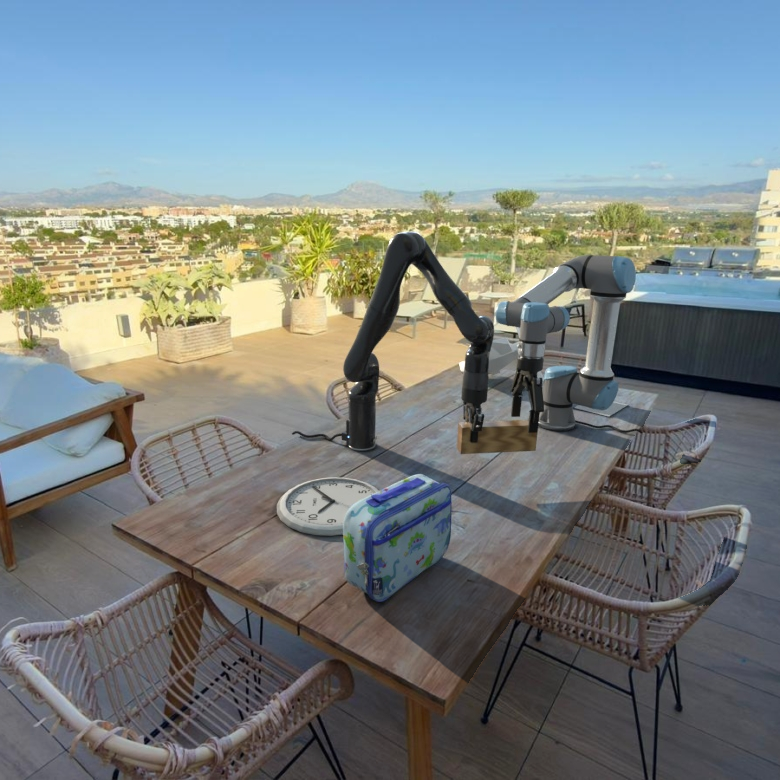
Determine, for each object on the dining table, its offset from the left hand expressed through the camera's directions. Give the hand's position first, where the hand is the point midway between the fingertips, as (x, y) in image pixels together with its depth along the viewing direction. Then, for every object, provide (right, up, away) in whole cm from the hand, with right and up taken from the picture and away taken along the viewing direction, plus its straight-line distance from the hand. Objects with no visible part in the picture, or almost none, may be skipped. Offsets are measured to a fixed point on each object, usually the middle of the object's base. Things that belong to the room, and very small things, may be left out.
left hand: (471, 438), depth 159 cm
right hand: (+16, +4, +1) cm, 17 cm away
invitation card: (+67, +7, +68) cm, 95 cm away
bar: (+8, -4, +2) cm, 9 cm away
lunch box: (-23, -26, -44) cm, 56 cm away
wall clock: (-40, -17, -16) cm, 46 cm away
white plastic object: (+28, +18, +99) cm, 104 cm away
